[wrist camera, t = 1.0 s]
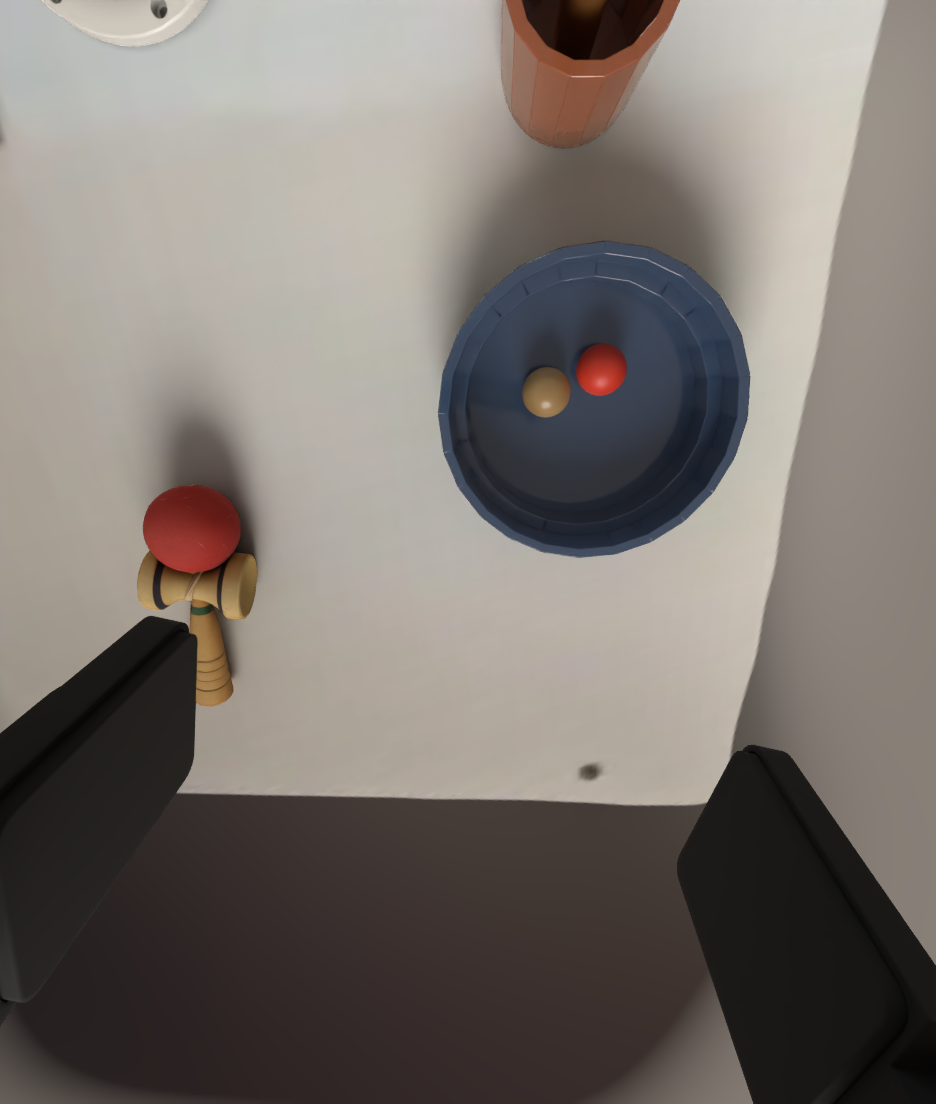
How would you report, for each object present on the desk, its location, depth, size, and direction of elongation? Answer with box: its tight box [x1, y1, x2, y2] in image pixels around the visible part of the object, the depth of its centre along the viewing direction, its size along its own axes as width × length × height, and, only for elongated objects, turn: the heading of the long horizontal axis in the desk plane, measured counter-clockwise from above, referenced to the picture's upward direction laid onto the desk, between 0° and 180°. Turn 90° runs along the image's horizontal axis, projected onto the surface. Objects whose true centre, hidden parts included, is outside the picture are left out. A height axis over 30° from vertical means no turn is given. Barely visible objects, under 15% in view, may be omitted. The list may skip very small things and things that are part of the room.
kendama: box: [137, 484, 257, 706], centre depth 40 cm, size 8×6×18 cm
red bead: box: [576, 343, 627, 396], centre depth 33 cm, size 3×3×3 cm
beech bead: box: [522, 367, 571, 417], centre depth 33 cm, size 3×3×3 cm
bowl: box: [438, 241, 750, 558], centre depth 33 cm, size 17×17×6 cm
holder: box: [501, 0, 680, 148], centre depth 25 cm, size 7×7×9 cm
